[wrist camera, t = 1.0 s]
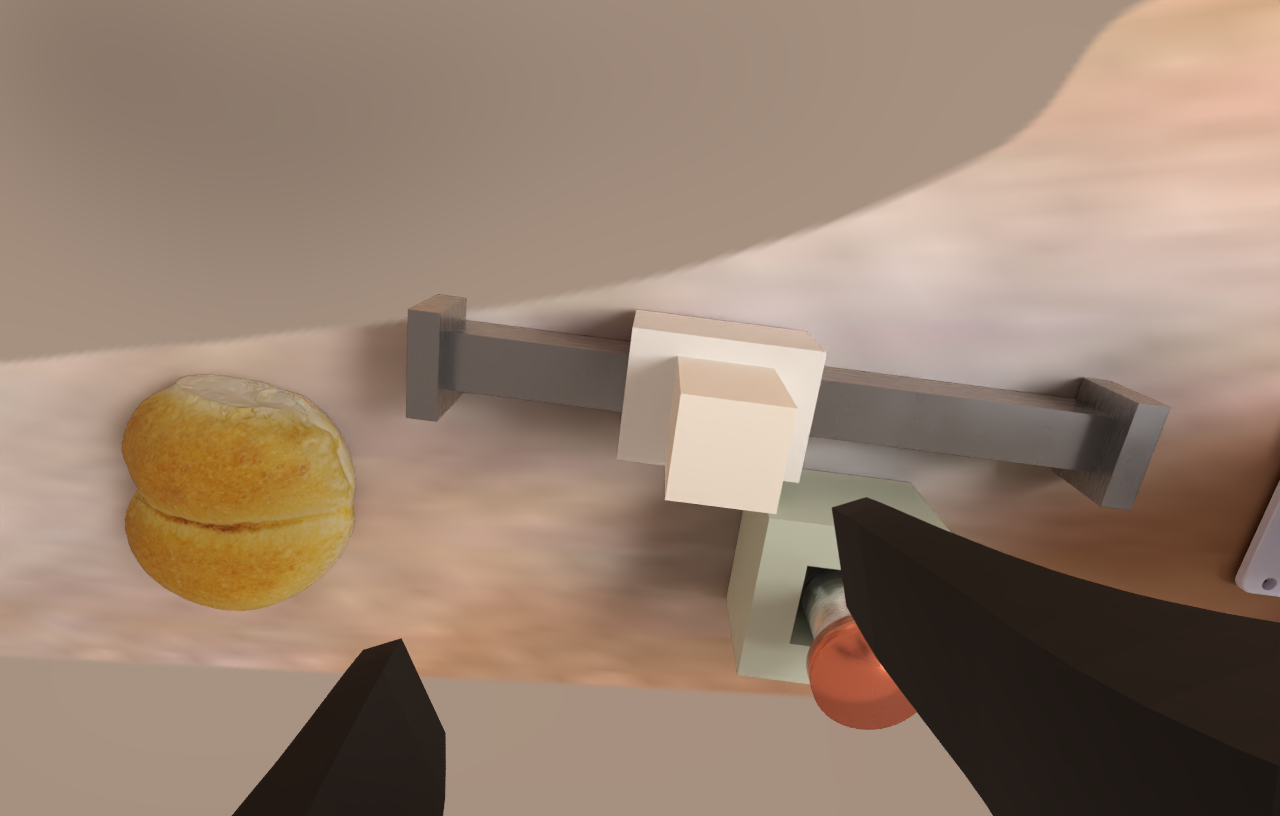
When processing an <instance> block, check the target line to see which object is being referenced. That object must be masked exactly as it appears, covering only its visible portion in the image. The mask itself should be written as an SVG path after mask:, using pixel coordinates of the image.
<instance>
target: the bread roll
mask: <svg viewBox="0 0 1280 816" xmlns="http://www.w3.org/2000/svg"><path fill="white" fill-rule="evenodd" d="M122 453H123V457H124V459H125V462H126V464H127V467H128V470H129V473H130V475H131V478H132V479H133V481H134V483H135V484H136V486H137V488H138V490H137V491H136V493H135V495H134V496H133V498H132V500H131V502H130V505H129V507H128V509H127V511H126V518H125V524H126V526H125V530H126V534H127V538H128V542H129V545H130V548H131V550H132V552H133V554H134V555H135V557H136V559H137V561H138V562H139V564H140V565H141V566H142V568H143V569H144V570H145V571H146V573H147V574H148V575H150V576H151V577H152V578H153V579H154V580H156V581H157V582H158V583H159V584H161V585H162V586H163V587H164V588H166V589H168V590H170V591H171V592H173V593H175V594H177V595H179V596H181V597H182V598H184V599H187V600H189V601H192V602H195V603H198V604H200V605H204V606H208V607H212V608H216V609H222V610H234V611H246V610H254V609H260V608H263V607H267V606H270V605H274V604H276V603H278V602H280V601H283V600H285V599H287V598H290V597H292V596H294V595H295V594H297V593H299V592H301V591H303V590H304V589H306V588H307V587H309V586H310V585H312V584H313V583H314V582H316V581H317V580H318V579H319V578H320V577H322V576H323V575H324V574H325V573H326V572H327V571H328V570H329V569H330V568H331V567H332V566H333V564H334V563H335V562H336V560H337V559H338V558H339V557H340V554H341V553H342V551H343V550H344V548H345V546H346V545H347V543H348V542H349V540H350V539H349V538H350V537H351V533H352V531H353V528H354V523H355V520H354V507H353V501H354V495H355V489H356V488H355V475H354V468H353V463H352V460H351V457H350V454H349V451H348V448H347V446H346V444H345V442H344V440H343V439H342V437H341V434H340V432H339V430H338V429H337V428H336V426H335V425H334V424H333V423H332V422H331V420H330V419H329V418H328V417H327V416H326V415H325V414H324V413H323V412H322V411H321V410H320V409H318V408H317V407H316V406H315V405H314V404H313V403H312V402H310V401H309V400H308V399H307V398H305V397H304V396H301V395H298V394H295V393H292V392H289V391H285V390H281V389H278V388H276V387H273V386H271V385H269V384H266V383H262V382H256V381H251V380H246V379H239V378H232V377H228V376H216V375H196V376H186V377H183V378H180V379H179V380H177V381H176V383H175V384H173V385H172V386H170V387H169V388H166V389H164V390H161V391H159V392H157V393H155V394H153V395H152V396H150V397H149V398H147V399H146V400H144V401H143V402H142V403H141V404H140V405H139V407H138V408H137V409H136V410H135V412H134V414H133V415H132V417H131V419H130V420H129V422H128V425H127V428H126V431H125V433H124V436H123V440H122Z"/></svg>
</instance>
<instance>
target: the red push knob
mask: <svg viewBox="0 0 1280 816" xmlns="http://www.w3.org/2000/svg"><path fill="white" fill-rule="evenodd" d="M800 598H801V601H802V604H803V607H804V610H805V614H806V617H807V620H808V623H809V626H810V629H811V632H812V635H813V638H814V641H813V642H812V644H811V646H810V648H809V651H808V654H807V660H806V669H807V675H808V678H809V682H810V685H811V688H812V692H813V695H814V698H815V700H816V702H817V704H818V706H819V707H820V708H821V710H822V711H823V712H824V713H825V714H826V715H827V716H828V717H830V718H831V719H833V720H834V721H836V722H838V723H840V724H842V725H845V726H848V727H851V728H856V729H866V730H867V729H868V730H870V729H881V728H885V727H890V726H893V725H896V724H898V723H900V722H902V721H904V720H906V719H908V718H909V717H911V716H912V715H914V714H915V713H916V712H917V711H916V710H915V709H914V708H913V706H912V705H911V704H910V702H909V701H908V700H907V698H906V697H905V696H904V694H903V693H902V692H901V690H900V689H899V688H898V686H897V685H896V684H895V683H894V681H893V680H892V679H891V677H890V676H889V675H888V673H887V672H886V671H885V669H884V668H883V667H882V665H881V664H880V662H879V661H878V660H877V658H876V657H875V655H874V653H873V652H872V650H871V648H870V647H869V645H868V643H867V642H866V640H865V638H864V637H863V635H862V633H861V631H860V630H859V628H858V626H857V624H856V623H855V621H854V619H853V617H852V616H851V614H850V612H849V610H848V608H847V607H846V600H845V594H844V587H843V581H842V574H841V570H837V569H829V568H821V567H813V566H807V570H806V574H805V578H804V583H803V587H802V591H801V596H800Z"/></svg>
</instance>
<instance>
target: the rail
mask: <svg viewBox="0 0 1280 816" xmlns="http://www.w3.org/2000/svg"><path fill="white" fill-rule="evenodd" d="M630 344H631V341H623V340H615V339H607V338H600V337H592V336H584V335H576V334H569V333H561V332H553V331H545V330H537V329H530V328H522V327H514V326H506V325H499V324H491V323H483V322H475V321H468V320H466V298H463V297H455V296H447V295H440V294H438V295H436V296H434V297H432V298H430V299H428V300H426V301H424V302H422V303H420V304H418V305H416V306H414V307H411V308H410V309H408V341H407V400H406V418H412V419H420V420H428V421H436V422H437V421H438V420H439V419H440V418H441V416H442V415H443V414H444V413H445V412H446V411H447V410H448V409H449V408H450V407H451V406H452V405H453V404H454V403H455V402H456V401H457V400H458V399H459V398H460V397H461V396H462V392H469V393H477V394H484V395H492V396H500V397H508V398H515V399H523V400H531V401H539V402H547V403H554V404H562V405H570V406H578V407H586V408H593V409H601V410H609V411H617V412H622V410H623V401H624V393H625V385H626V377H627V369H628V360H629V352H630ZM1169 410H1170V407H1168V406H1166V405H1164V404H1162V403H1159V402H1157V401H1155V400H1153V399H1150V398H1148V397H1146V396H1144V395H1141V394H1139V393H1137V392H1135V391H1132V390H1130V389H1128V388H1126V387H1123V386H1121V385H1119V384H1117V383H1114V382H1112V381H1106V380H1099V379H1091V378H1083V380H1082V383H1081V386H1080V389H1079V392H1078V395H1077V398H1076V399H1073V398H1065V397H1057V396H1050V395H1042V394H1034V393H1026V392H1019V391H1011V390H1003V389H995V388H988V387H980V386H972V385H964V384H957V383H949V382H941V381H933V380H926V379H918V378H910V377H902V376H894V375H887V374H879V373H871V372H863V371H856V370H848V369H840V368H832V367H825V366H824V369H823V374H822V378H821V383H820V388H819V392H818V397H817V402H816V406H815V411H814V416H813V420H812V425H811V429H810V434H809V436H812V437H820V438H827V439H835V440H843V441H851V442H859V443H866V444H874V445H882V446H890V447H898V448H905V449H913V450H921V451H929V452H937V453H944V454H952V455H960V456H968V457H975V458H983V459H991V460H999V461H1007V462H1014V463H1022V464H1030V465H1038V466H1046V467H1053V468H1052V471H1053V472H1055V473H1056V474H1057V475H1059V476H1060V477H1061V478H1063V479H1064V480H1065V481H1067V482H1068V483H1069V484H1071V485H1072V486H1074V487H1075V488H1076V489H1078V490H1079V491H1080V492H1082V493H1083V494H1084V495H1086V496H1087V497H1088V498H1090V499H1091V500H1092V501H1094V502H1095V503H1096V504H1098V505H1099V506H1100V507H1108V508H1115V509H1123V510H1131V508H1132V506H1133V503H1134V500H1135V498H1136V495H1137V493H1138V490H1139V487H1140V485H1141V482H1142V480H1143V477H1144V475H1145V472H1146V469H1147V467H1148V464H1149V462H1150V459H1151V456H1152V454H1153V451H1154V449H1155V446H1156V444H1157V441H1158V438H1159V436H1160V433H1161V431H1162V428H1163V426H1164V423H1165V420H1166V418H1167V415H1168V413H1169Z"/></svg>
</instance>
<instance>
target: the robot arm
mask: <svg viewBox="0 0 1280 816" xmlns="http://www.w3.org/2000/svg"><path fill="white" fill-rule="evenodd" d="M832 514H833V521H834V527H835V534H836V541H837V547H838V554H839V561H840V567H841V574H842V581H843V587H844V594H845V600H846V607H847V608H848V610H849V612H850V614H851V616H852V617H853V619H854V621H855V623H856V624H857V626H858V628H859V630H860V631H861V633H862V635H863V637H864V638H865V640H866V642H867V643H868V645H869V647H870V648H871V650H872V652H873V653H874V655H875V657H876V658H877V660H878V661H879V662H880V664H881V665H882V667H883V668H884V669H885V671H886V672H887V673H888V675H889V676H890V677H891V679H892V680H893V681H894V683H895V684H896V685H897V686H898V688H899V689H900V690H901V692H902V693H903V694H904V696H905V697H906V698H907V700H908V701H909V702H910V704H911V705H912V706H913V708H914V709H915V710H916V711H917V713H918V714H919V715H920V717H921V718H922V719H923V721H924V722H925V723H926V724H927V726H928V727H929V728H930V730H931V731H932V732H933V734H934V735H935V736H936V737H937V739H938V740H939V741H940V743H941V744H942V745H943V747H944V748H945V749H946V751H947V752H948V753H949V755H950V756H951V757H952V758H953V760H954V761H955V762H956V764H957V765H958V766H959V767H960V769H961V770H962V771H963V773H964V774H965V775H966V777H967V778H968V780H969V781H970V782H971V784H972V785H973V787H974V788H975V790H976V791H977V792H978V794H979V795H980V797H981V798H982V799H983V801H984V802H985V804H986V805H987V806H988V808H989V810H990V812H991V813H992V815H993V816H1280V623H1278V622H1271V621H1266V620H1260V619H1254V618H1248V617H1243V616H1237V615H1231V614H1226V613H1220V612H1216V611H1211V610H1206V609H1201V608H1197V607H1192V606H1187V605H1182V604H1177V603H1173V602H1168V601H1163V600H1159V599H1155V598H1151V597H1146V596H1142V595H1138V594H1134V593H1130V592H1126V591H1123V590H1119V589H1115V588H1112V587H1108V586H1104V585H1101V584H1097V583H1094V582H1090V581H1086V580H1083V579H1079V578H1076V577H1073V576H1069V575H1066V574H1063V573H1060V572H1056V571H1053V570H1050V569H1047V568H1044V567H1042V566H1039V565H1036V564H1033V563H1030V562H1027V561H1024V560H1021V559H1019V558H1016V557H1013V556H1010V555H1007V554H1004V553H1002V552H999V551H997V550H994V549H991V548H989V547H986V546H983V545H981V544H978V543H976V542H973V541H971V540H968V539H966V538H963V537H961V536H958V535H956V534H954V533H951V532H949V531H946V530H944V529H942V528H939V527H937V526H935V525H932V524H930V523H928V522H925V521H923V520H921V519H918V518H916V517H914V516H911V515H909V514H907V513H904V512H902V511H900V510H897V509H895V508H893V507H890V506H888V505H886V504H883V503H881V502H878V501H876V500H873V499H870V498H868V497H865V498H861V499H858V500H855V501H851V502H848V503H845V504H842V505H838V506H835V507H832ZM1266 579H1268V580H1267V581H1266V582H1265V583H1263V582H1264V581H1265V580H1266ZM1235 582H1236V585H1237V586H1238V587H1240V588H1241V589H1242V590H1244V591H1245V592H1248V593H1253V594H1261V595H1268V596H1276V597H1280V481H1279V483H1278V485H1277V487H1276V489H1275V492H1274V494H1273V496H1272V498H1271V500H1270V503H1269V505H1268V507H1267V509H1266V511H1265V513H1264V516H1263V518H1262V520H1261V522H1260V524H1259V527H1258V529H1257V531H1256V533H1255V535H1254V538H1253V540H1252V542H1251V544H1250V546H1249V549H1248V551H1247V553H1246V555H1245V557H1244V559H1243V562H1242V564H1241V566H1240V568H1239V570H1238V573H1237V575H1236V578H1235ZM1262 583H1263V584H1262ZM445 745H446V744H445V731H444V729H443V727H442V725H441V723H440V720H439V718H438V716H437V714H436V712H435V710H434V707H433V705H432V703H431V701H430V699H429V697H428V694H427V692H426V690H425V688H424V686H423V684H422V682H421V679H420V677H419V675H418V673H417V671H416V669H415V666H414V664H413V662H412V660H411V658H410V656H409V654H408V651H407V649H406V647H405V645H404V643H403V641H402V638H401V639H398V640H394V641H391V642H388V643H385V644H381V645H378V646H375V647H371V648H368V649H365V650H363V651H362V652H361V653H360V655H359V656H358V657H357V658H356V659H355V660H354V662H353V663H352V664H351V665H350V667H349V668H348V669H347V671H346V672H345V673H344V674H343V676H342V677H341V678H340V680H339V681H338V682H337V684H336V685H335V686H334V687H333V689H332V690H331V692H330V693H329V694H328V695H327V697H326V698H325V699H324V701H323V702H322V703H321V705H320V706H319V707H318V709H317V710H316V711H315V713H314V714H313V715H312V717H311V718H310V719H309V720H308V722H307V723H306V724H305V726H304V727H303V728H302V730H301V731H300V732H299V733H298V735H297V736H296V737H295V739H294V740H293V741H292V743H291V744H290V745H289V746H288V748H287V749H286V750H285V752H284V753H283V754H282V756H281V757H280V758H279V759H278V761H277V762H276V763H275V764H274V766H273V767H272V768H271V769H270V770H269V771H268V773H267V774H266V775H265V776H264V777H263V779H262V780H261V781H260V782H259V783H258V785H257V786H256V787H255V788H254V789H253V791H252V792H251V793H250V794H249V796H248V797H247V798H246V799H245V800H244V802H243V803H242V804H241V805H240V806H239V808H238V809H237V810H236V811H235V812H234V814H233V815H232V816H443V811H444V802H445V776H446V757H445V756H446V754H445V753H446V751H445V750H446V748H445V747H446V746H445Z"/></svg>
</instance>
